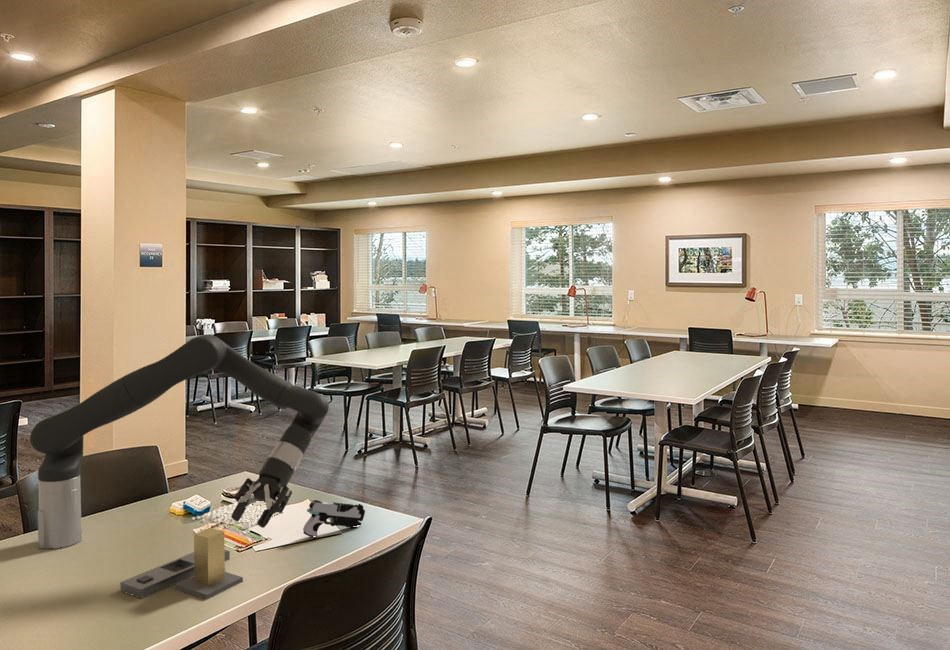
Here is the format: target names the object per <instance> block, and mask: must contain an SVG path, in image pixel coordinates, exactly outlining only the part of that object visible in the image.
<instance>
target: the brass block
mask: <svg viewBox="0 0 950 650" xmlns="http://www.w3.org/2000/svg"><path fill="white" fill-rule="evenodd" d="M225 550H226V549H225V531H224V530H222V529H221V530H220V529H217V528H214V527H209V528H206V529H203V530H200V531H198V532H195V533H194V534H193V552H194V575H193V576H194V578H195V582H196V583H199V584H202V585H205V586H208V587H209V586H211V585H213V584H215V583H217V582H219V581H221V580H224V579H225V572H226V571H225V570H226V568H225V567H226V565H225V564H226V561H225Z"/></svg>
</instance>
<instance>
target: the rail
mask: <svg viewBox="0 0 950 650" xmlns="http://www.w3.org/2000/svg"><path fill="white" fill-rule="evenodd" d="M230 554H231V553H230V550H227V549H225V562H227V561H228V560H230V559H231V558H230ZM180 568H181V570H179V571H177V572H175V571H174V570H177V569H180ZM193 576H194V551H193V552H190V553H188V554H185V555H183V556H181V557H178V558H176V559H173V560H170V561H169V562H166V563H164V564H162V565H159V566H156V567H154V568H152V569H149V570H147V571H144V572H142V573H139V574H137V575H134V576H132V577H130V578H127V579H124V580H123V581H120V584H119V586H120V590H122V591H124V592H127V593H130V594H133V595H135V596H138V597H140V598H139V599H143V598H142V597H144V598H145V596H146V597H148V596H150V595H152V593H153V594H155V593H157V592H159V591H161V590H163V589H166V588H168V587H171V586H172V585H175V584H177V583H179V582H182V581H184V580H186V579H188V578H191V577H193ZM122 591H121V592H122ZM124 592H123V593H124ZM154 592H155V593H154ZM127 593H126V594H127ZM130 594H129V595H130ZM149 594H150V595H149ZM133 595H132V596H133ZM147 595H148V596H147ZM135 596H134V597H135ZM138 597H137V598H138Z"/></svg>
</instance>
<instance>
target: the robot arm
mask: <svg viewBox="0 0 950 650" xmlns="http://www.w3.org/2000/svg"><path fill="white" fill-rule="evenodd" d="M212 370H213V371H216V372H219V373H221V374H224V375H226V376H229V377H230V378H232V379H233V380H236V381H237V382H238V383H240V384H241V385H243V386H244V387H245V388H246V389H247V390H249V391H250V392H251V393H253V394H254V396H255V395H256V396H257V397H259V398H260V399H261V400H264V401H265V402H267V403H269V404H271V405H273V406H275V407H277V408H279V409H281V410H282V409H283V410H286V409H291V410H294V411H295V412H296V414H295V416H294V418H293V420H292V421H291V424H290V425H288V427H287V428H286V429H285V431H284V432H283V434H282V436H281V438H280V439H279V441H278V442H277V444H276V445H275V446H274V448H273V449H272V451H271V452H270V454H269V456H268V457H267V459H266V460H265V462H264V464H263V465H262V467H261V468H260V470H259V472H258V473H259V476H258V479H257V480H255V481H254V480H252V479H251V478H249V477H248V478H246V479H245V481H244V483H242V485H241V487H240V488H239V490H237V492H236V494H235V496H234V499H235V500H236V501H235V502H237V501H238V505H237V506H236V508H235V510H234V511H233V513H232V518H233V519H234V520H235V521H239V520H240V518H242V515H243V513H244V511H245V510H246V508H245V507H247V506H249V505H250V504H251V503H253V504H254V503H257V502H264V503H266V508H267V510H264V512H263V513H262V515H261V516H260V519H259V520H258V522H257V525H258V526H259V527H260V528H263V529H264V528H265V527H266V526H267V525H268V524H269V522H270V520H271V519H272V518H271V517H272V515H273V514H275V513H277V512H279V513H280V514H283V513H282V512H283V510H284V509H285V508H286V506H287V504H288V502H289V500H290V498H291V496H292V494H293V491H292V490H291V489H290V487H288V484H289V482H290V481H291V479H292V477H293V476H294V474H295V472H296V470H297V469H298V467H299V466H300V463H301V461H302V458H303V456H304V454H305V453H306V451H307V449H308V447H309V445H310V444H311V441H312V438H313V437H314V435H315V434H316V432H317V431H318V429H319V428H320V426H321V424H322V423H323V421H324V420H325V418H326V416H327V414H328V413H329V412H328V411H329V403H328V401H327V399H326V398H325V396H323V395H322V394H320V393H318V392H316V391H313V390H311V389H308V388H305V387H301V386H298V385H295V384H292V383H291V382H289V381H287V380H286V379H283V378H281V377H280V376H278V375H276V374H274V373H272V372H271V371H268V369H265V368H263V367H261V366H259V365H257V364H256V363H254V362H253V361H250V360H249V359H247V358H246V357H244V355H241V354H240V353H239V352H237V351H236V350H234V348H232V347H231V346H230V345H228V344H227V343H225V342H224V341H223V340H222V339H220V337H217V336H215V335H212V334H202V335H199V336H195V337H192V338H190V339H189V340H188V341H186V343H184V344H182V345H181V346H180V347H179V348H177V349H176V350H173V352H171V353H169V354H167V356H165V357H163V358H161V359H160V360H158V361H155V362H153V363H150V364H147V365H144V366H143V367H139V368H138V369H136V370H134V371H131V372H129V373H127V374H126V375H124V376H121V377H120V378H118V379H117V380H114V381H112V382H111V383H110V384H108V385H106V386H104V387H103V388H101V389H99V390H97V391H96V392H95V393H93V394H92V395H90V396H88V397H87V398H86V399H85V400H83V401H82V402H80V403H79V404H77V405H75V406H73V407H71V408H68V409H67V410H65V411H62V412H60V413H57V414H54V415H51V416H48V417H46V418H44V419H42V420H41V421H39V422H37V424H35V425H34V427H33V429H32V430H31V433H30V435H29V436H30V437H29V440H30V441H29V442H30V445H31V447H32V448H33V449H34V450H35V451H37V452H38V453H41V454H44V459H43V460H42V463H41V465H40V466H39V468H38V469H37V481H38V483H37V484H38V485H37V486H38V511H37V528H38V529H37V531H38V532H37V536H38V549H39V548H41V549H48V548H53V549H60V547H62V548H67V547H70V546H73V545H76V544H78V543H79V542H80V541H82V539H83V538H82V537H83V536H82V535H83V534H82V532H83V531H82V502H81V501H82V500H81V499H82V497H81V495H82V494H81V493H82V491H81V466H82V465H83V460H84V436H85V435H87V434H88V433H89V432H92V431H94V430H96V429H98V428H100V427H103V426H106V425H109V424H110V423H114V422H116V421H118V420H120V419H122V418H125V417H127V416H130V415H131V414H133V413H135V412H137V411H138V410H141V409H143V408H144V407H146V406H148V405H149V404H151V403H152V402H154V401H156V400H157V399H159V398H160V397H161V396H163V395H164V394H166V393H167V392H168V391H169V390H170V389H171V388H173V387H175V386H176V385H177V384H180V383H181V382H184V381H186V380H188V379H191V378H194V377H195V376H198V375H201V374H202V373H206V372H209V371H212ZM66 546H67V547H66Z"/></svg>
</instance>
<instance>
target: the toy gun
mask: <svg viewBox="0 0 950 650" xmlns="http://www.w3.org/2000/svg"><path fill="white" fill-rule="evenodd" d="M308 506H309V507H308V509H306V512H307V513H309V514H310V517H309V518H308V520H307V521H306V522H305V524H304V525H303V529H302V531H303V534H304V535H305V536H308V537H310V538H312V537H313V536H317V537H318V530H319V528H320V527H321V526H322V525H323V524H324V525H330V526H332V527H335V526H338V527H345V528H350V527H353V526H357V525H361V526H362V523H361V522H363V520H364V518H365V514H366V509H364V506H363V504H360V503H358V504H352V503H351V504H350V503H348V504H347V503H342V502H334V501H333V502H327V501H320V500H317V499H315V500H311V502H310V503H309V505H308ZM328 519H330V521H328ZM353 528H354V527H353Z"/></svg>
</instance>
